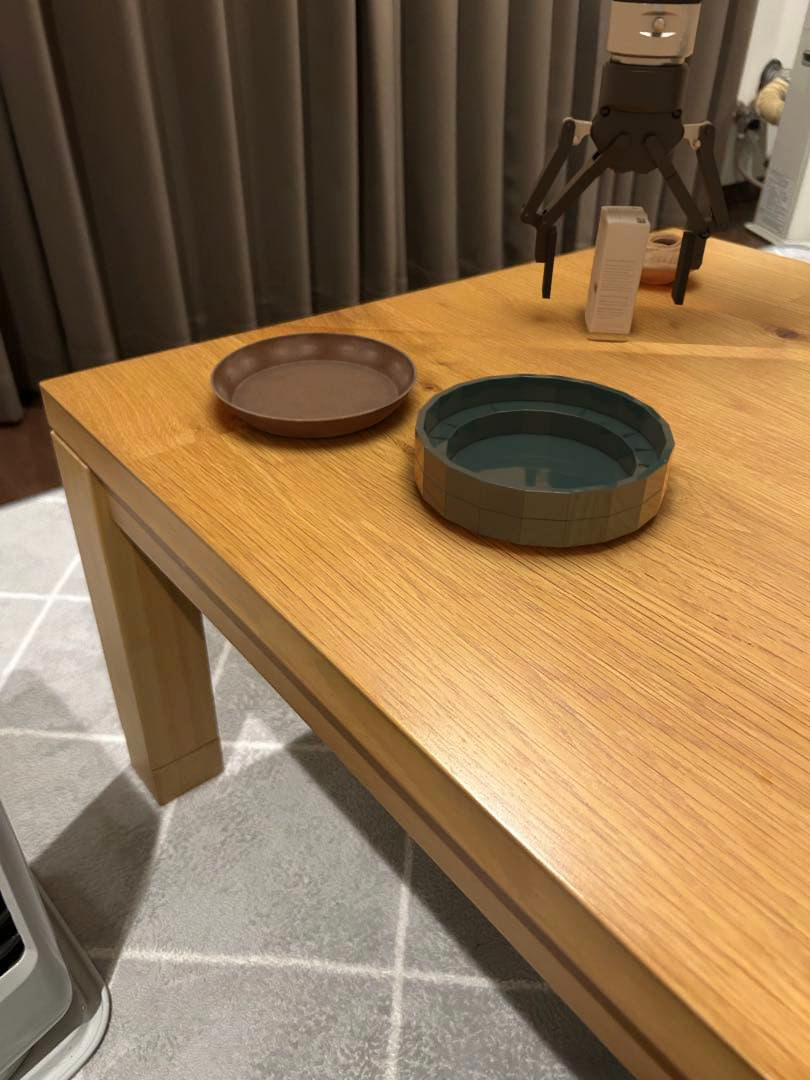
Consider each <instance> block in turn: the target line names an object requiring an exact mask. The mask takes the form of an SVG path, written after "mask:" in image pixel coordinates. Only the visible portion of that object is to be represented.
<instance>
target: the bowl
mask: <svg viewBox="0 0 810 1080" xmlns="http://www.w3.org/2000/svg"><path fill="white" fill-rule="evenodd" d="M416 416H417V417H416V420H415V421H416V422H415V427H414V457H413V459H414V461H413V463H414V467H413V478H414V481H415V483H416V485H417V488H418V490H419V493H420V495H421V497H422V499H423V501H425V502H426V503H427V504H428V505H430V506H431V507H432V509H434V510H435V511H436V512H437V513H438V514H440V515H441V516H442V517H443V519H445V520H448V521H450V522H452V523H454V524H456V525H458V526H460V527H462V528H464V529H467V530H468V531H470V532H472V533H474V534H477V535H480V536H483V537H487V538H492V539H496V540H500V541H504V542H508V543H512V544H516V545H519V546H520V545H521V546H535V547H547V548H548V547H551V548H570V547H577V546H586V545H594V544H603V543H606V542H610V541H612V540H614V539H617V538H620V537H623V536H626V535H628V534H631V533H634V532H636V531H637V530H639V529H640V528H642V527H643V526H644V525H645V524H647V522H648V521H650V520H651V519H653V517H655V516H656V515H657V514H658V512H659V511H660V507H661V504H662V502H663V499H664V496H665V494H666V490H667V484H668V481H669V480H668V479H669V475H670V469H671V465H672V461H673V456H674V452H675V447H676V441H675V438H674V435H673V432H672V429H671V426H670V423H669V422H668V421H666V420H665V418H664V417H662V416H661V414H659V413H658V411H656V410H655V408H653V407H652V406H651V405H649V404H647V403H646V402H644V401H642V400H640V399H638V398H636V397H635V396H633V395H631V394H630V393H627V392H625V391H622V390H620V389H616V388H615V387H614V388H613V387H610V386H607V385H604V384H602V383H598V382H595V381H592V380H586V379H581V378H576V377H570V376H565V375H557V374H542V373H541V374H540V373H539V374H538V373H511V374H500V375H499V374H498V375H488V376H482V377H479V378H475V379H471V380H468V381H461V382H458V383H456V384H454V385H452V386H450V387H448V388H445V389H444V390H441V391H440V392H437V393H435V394H433V395H432V396H431V397H430V398H429V399H428V400H427V401H426V402H425V403H424V404H423V405H422V406H421V408H419V410H418V412H417V415H416Z"/></svg>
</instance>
